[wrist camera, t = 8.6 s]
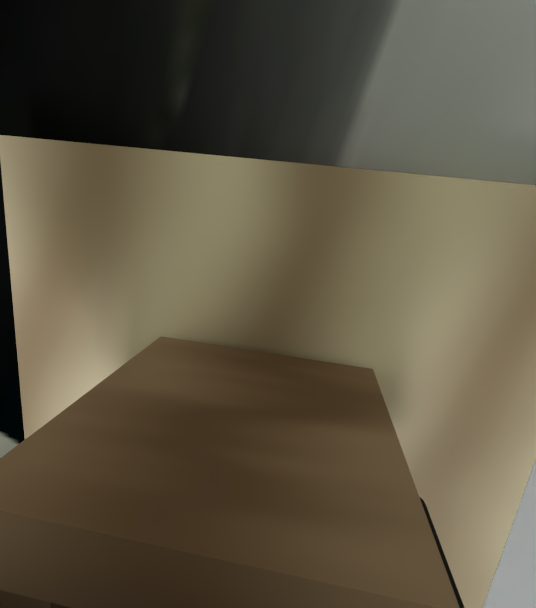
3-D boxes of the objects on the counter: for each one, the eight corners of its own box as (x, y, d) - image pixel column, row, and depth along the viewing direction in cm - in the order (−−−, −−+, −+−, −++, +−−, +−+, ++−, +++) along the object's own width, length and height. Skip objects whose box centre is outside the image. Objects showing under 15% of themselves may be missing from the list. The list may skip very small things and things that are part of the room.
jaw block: (372, 369, 9) (461, 612, 4) (337, 543, 11) (360, 911, 5) (160, 336, 10) (-53, 498, 4) (156, 505, 12) (-6, 794, 6)
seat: (858, 222, 8) (1350, 228, 4) (571, 763, 14) (674, 986, 10) (32, 143, 11) (-139, 100, 7) (63, 633, 16) (-20, 771, 12)
